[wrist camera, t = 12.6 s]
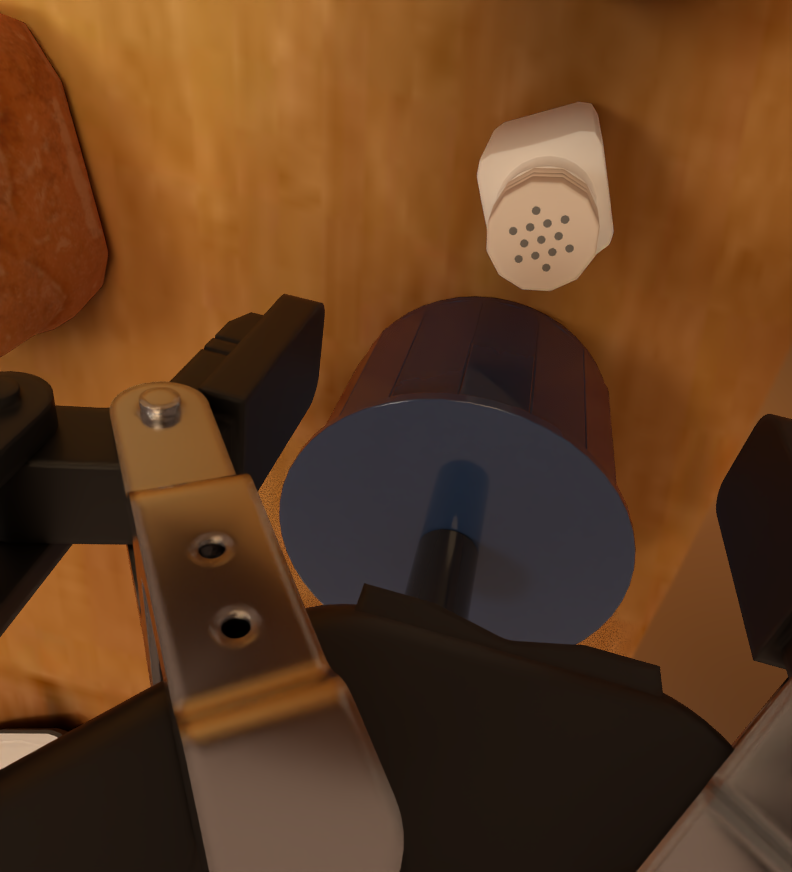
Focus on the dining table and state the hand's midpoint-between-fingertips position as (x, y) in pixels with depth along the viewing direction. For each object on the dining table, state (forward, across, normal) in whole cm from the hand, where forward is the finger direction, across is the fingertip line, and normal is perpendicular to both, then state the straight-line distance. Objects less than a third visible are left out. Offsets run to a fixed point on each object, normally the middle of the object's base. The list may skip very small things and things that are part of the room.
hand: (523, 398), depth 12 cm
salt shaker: (+18, 0, 0) cm, 18 cm away
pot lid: (+8, 0, +12) cm, 15 cm away
